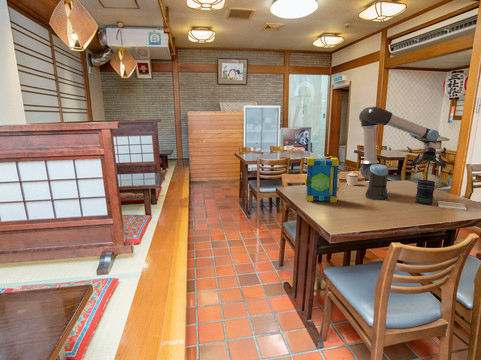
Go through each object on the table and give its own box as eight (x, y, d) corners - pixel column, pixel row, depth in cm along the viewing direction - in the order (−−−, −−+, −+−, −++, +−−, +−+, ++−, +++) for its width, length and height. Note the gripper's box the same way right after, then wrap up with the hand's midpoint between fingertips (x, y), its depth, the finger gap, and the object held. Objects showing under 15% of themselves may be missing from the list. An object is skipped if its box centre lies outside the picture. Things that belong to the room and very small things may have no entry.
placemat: (438, 207, 178) (438, 206, 178) (437, 202, 190) (437, 200, 190) (466, 211, 171) (466, 209, 171) (463, 205, 182) (464, 203, 182)
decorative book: (304, 197, 207) (305, 156, 201) (337, 198, 202) (339, 157, 196) (304, 202, 193) (306, 159, 187) (339, 204, 189) (342, 159, 183)
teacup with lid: (360, 185, 242) (361, 172, 240) (352, 186, 239) (353, 173, 236) (349, 182, 253) (350, 170, 251) (341, 183, 250) (342, 170, 247)
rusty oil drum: (436, 205, 183) (439, 183, 180) (420, 205, 184) (423, 183, 181) (426, 201, 193) (429, 179, 190) (412, 201, 193) (414, 180, 190)
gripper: (450, 154, 198) (448, 178, 189) (409, 152, 212) (406, 175, 202) (451, 147, 193) (450, 172, 184) (409, 146, 206) (406, 169, 197)
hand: (427, 174), depth 193 cm, fingers open, 13 cm apart
